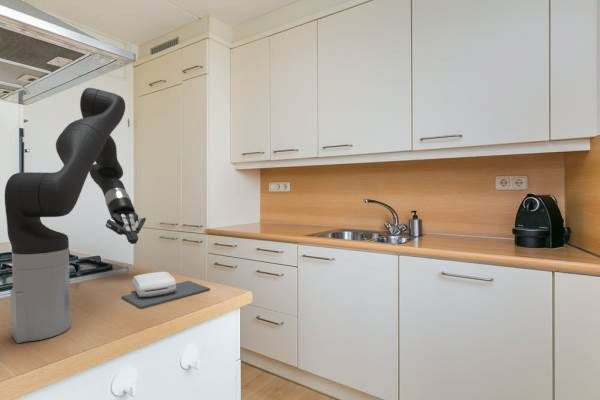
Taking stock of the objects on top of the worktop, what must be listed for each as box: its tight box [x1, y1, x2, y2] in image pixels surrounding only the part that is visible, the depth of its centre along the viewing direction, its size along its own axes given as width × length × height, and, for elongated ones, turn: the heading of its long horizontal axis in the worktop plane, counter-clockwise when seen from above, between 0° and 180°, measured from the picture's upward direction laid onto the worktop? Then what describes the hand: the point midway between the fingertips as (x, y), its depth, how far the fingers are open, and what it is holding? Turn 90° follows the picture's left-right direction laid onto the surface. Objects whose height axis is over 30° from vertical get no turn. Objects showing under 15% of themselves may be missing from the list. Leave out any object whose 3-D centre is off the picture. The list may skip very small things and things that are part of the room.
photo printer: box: [131, 271, 177, 297], centre depth 93 cm, size 10×4×12 cm
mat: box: [121, 280, 211, 310], centre depth 93 cm, size 20×12×1 cm, turn 139°
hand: (134, 242), depth 106 cm, fingers closed
